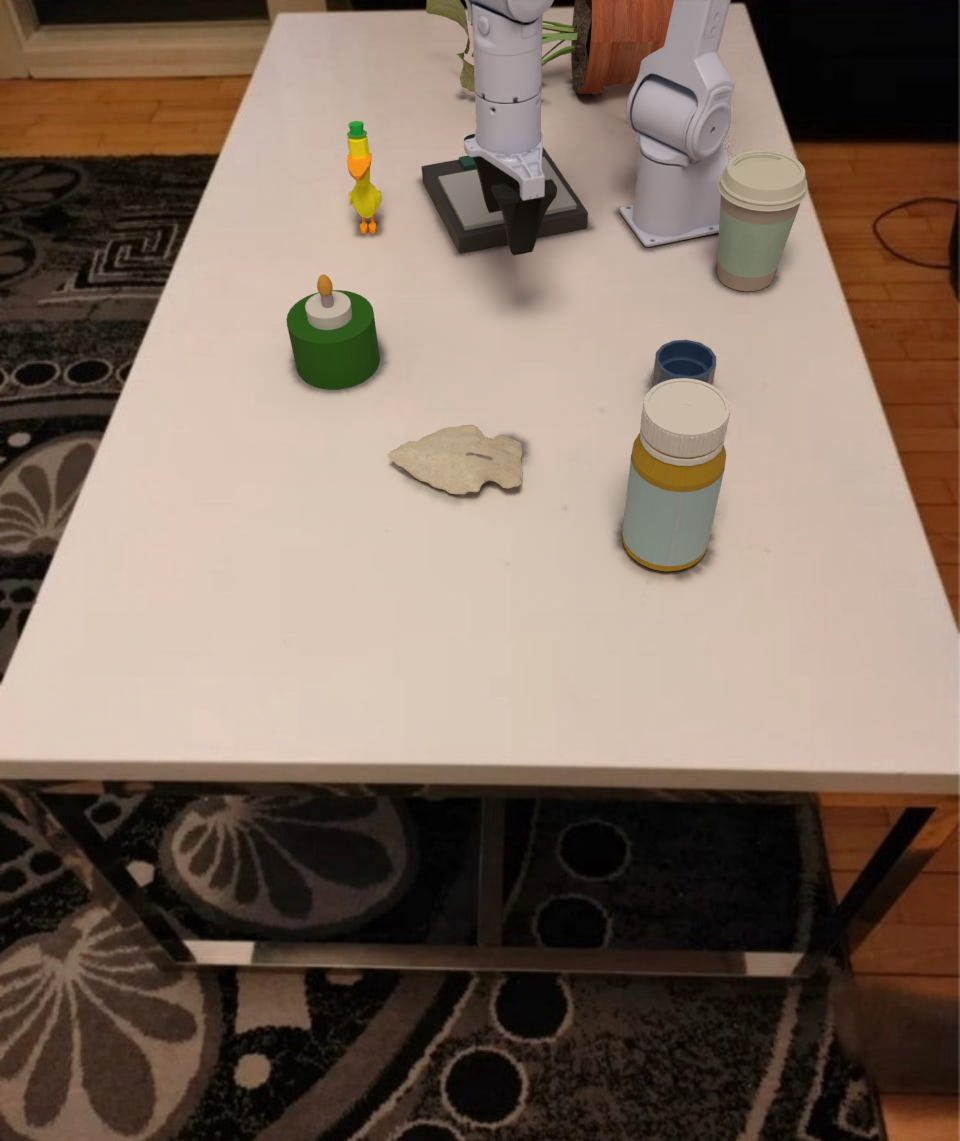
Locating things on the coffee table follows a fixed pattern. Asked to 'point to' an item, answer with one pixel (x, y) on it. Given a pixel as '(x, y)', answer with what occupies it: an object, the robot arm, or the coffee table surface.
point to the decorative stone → (461, 459)
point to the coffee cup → (757, 216)
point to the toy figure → (362, 176)
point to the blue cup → (684, 362)
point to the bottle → (675, 474)
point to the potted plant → (590, 39)
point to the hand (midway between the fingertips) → (509, 230)
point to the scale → (469, 216)
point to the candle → (333, 337)
